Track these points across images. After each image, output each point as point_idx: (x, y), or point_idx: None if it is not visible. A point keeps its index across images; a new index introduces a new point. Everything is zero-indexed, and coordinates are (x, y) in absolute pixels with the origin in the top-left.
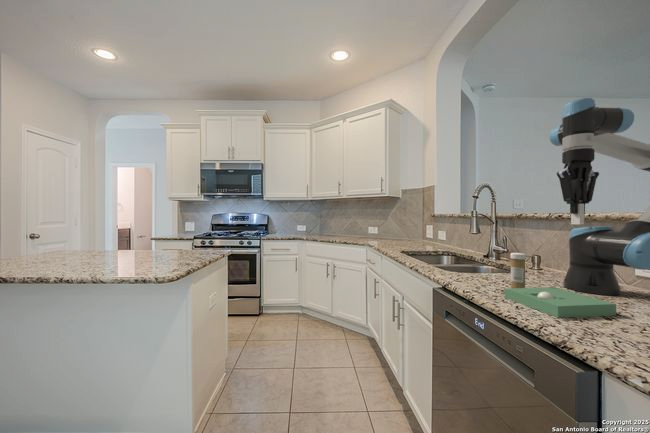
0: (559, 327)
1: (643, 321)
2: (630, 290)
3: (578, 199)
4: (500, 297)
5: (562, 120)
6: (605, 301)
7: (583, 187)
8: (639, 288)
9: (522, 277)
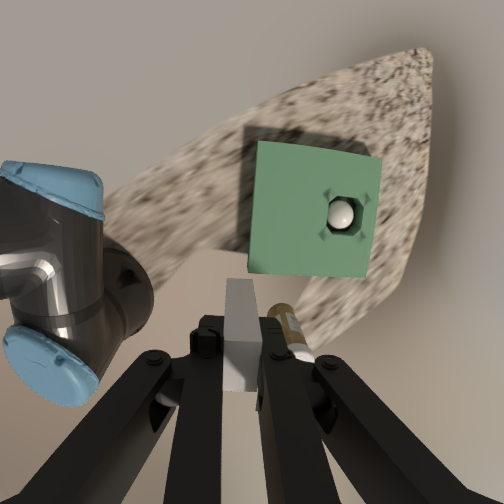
0: (404, 132)
1: (246, 110)
2: None
3: (275, 366)
4: None
5: None
6: (259, 158)
7: (218, 457)
8: None
9: (289, 318)
